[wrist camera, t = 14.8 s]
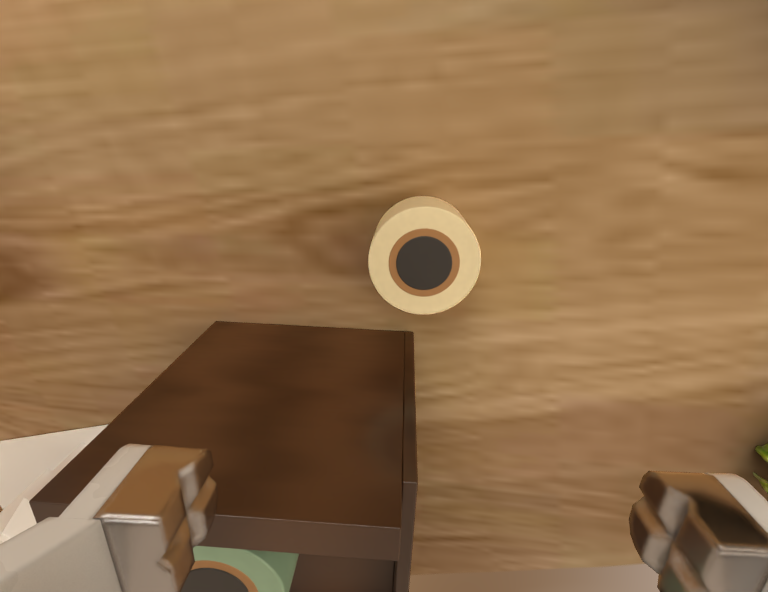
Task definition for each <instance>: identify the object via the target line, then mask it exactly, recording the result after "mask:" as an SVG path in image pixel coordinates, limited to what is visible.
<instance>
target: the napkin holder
mask: <svg viewBox="0 0 768 592" xmlns="http://www.w3.org/2000/svg"><path fill="white" fill-rule="evenodd" d="M108 425H109V424H108ZM108 425H101V426H95V427H88V428H82V429H75V430H69V431H62V432H56V433H49V434H43V435H36V436H30V437H23V438H17V439H10V440H4V441H0V506H1V507H2V509H3V511H1V512H0V544H1V543H3V542H5V541H7V540H9V539H10V538H12V537H14V536H16V535H18V534H19V533H21V532H23V531H25V530H27V529H28V528H30V527H32V526H34V525H36V524H37V522H36V520H35V517H34V514H33V512H32V509H31V507H30V504H29V501H30V500H31V499H32V498H33V497H34V496H35V495H36V494H37V493H38V492H39V491H40V490H41V489H42V488H43V487H44V486H45V485H46V484H47V483H49V482H50V481H51V480H52V479H53V478H54V477H55V476H56V475H57V474H58V473H59V472H60V471H61V470H62V469H63V468H64V467H65V466H66V465H67V464H68V463H69V462H70V461H71V460H72V459H73V458H74V457H76V456H77V455H78V454H79V453H80V452H81V451H82V450H83V449H84V448H85V447H86V446H87V445H88V444H89V443H90V442H91V441H92V440H93V439H94V438H95V437H96V436H97V435H98V434H99V433H100V432H101V431H103V430H104V429H105V428H106V427H107V426H108Z"/></svg>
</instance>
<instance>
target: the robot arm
mask: <svg viewBox="0 0 768 592" xmlns="http://www.w3.org/2000/svg"><path fill="white" fill-rule="evenodd" d="M213 466H214V463H213V458H212V453H211V451H209V450H207V449H202V448H188V447H175V446H162V445H155V446H152V445H140V444H127V445H125V446H123V447H121V448H120V449H119V450H118V451H117V452H116V453H115V454H114V455H113V457H112V458H111V459H110V460H109V461H108V462H107V463H106V464H105V466H104V467H103V468H102V469H101V470H100V471H99V472H98V473H97V474H96V476H95V477H94V478H93V479H92V480H91V481H90V482H89V483H88V485H87V486H86V487H85V488H84V489H83V490H82V491H81V492H80V493H79V495H78V496H77V497H76V498H75V499H74V500H73V501H72V502H71V504H70V505H69V506H68V507H67V508H66V509H65V510H64V511H63V512H62V514H61V515H60V516H59V517H48V518H46V519H44V520H43V521H41V522H39V523H37V524H36V525H34V526H32V527H30V528H28V529H27V530H25V531H23V532H21V533H19V534H18V535H16V536H14V537H12V538H10V539H9V540H7V541H5V542H3V543H1V544H0V592H181V590H182V588H183V585H184V583H185V581H186V579H187V577H188V575H189V573H190V571H191V569H192V567H193V565H194V563H195V558H194V553H193V548H194V547H195V546H197V545H198V544H199V543H200V542H202V541H203V540H204V539H205V538H206V537H207V535H208V533H209V531H210V529H211V526H212V524H213V521H214V517H215V514H216V510H217V505H218V489H217V483H216V482H215V481H214V480H213V479H212V478H211V477H210V476H209V473H210V471H211V470H212V468H213ZM639 488H640V489H641V491H642V493H643V495H644V497H642V498H641V499H640V500H638V501H637V502H636V503H635V504H633V506H632V510H631V513H630V517H629V524H630V534H631V537H632V540H633V543H634V546H635V548H636V550H637V552H638V554H639V556H640V557H641V559H642V561H643V562H644V563H645V564H647V565H648V566H649V567H650V568H652V569H653V570H654V571H655V572H656V573H658V574H659V578H658V586H657V587H658V589H659V590H660V592H768V501H767V500H766V499H765V498H764V497H763V496H762V495H761V494H760V493H759V492H758V491H757V490H756V489H755V488H754V487H753V486H752V485H751V484H749V483H748V482H747V481H746V480H745V479H743V478H742V477H740V476H738V475H736V474H724V473H704V474H703V473H691V472H666V471H648V472H647V473H646V474H645V475H644V476H643V477H642V480H641V483H640V486H639Z"/></svg>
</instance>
